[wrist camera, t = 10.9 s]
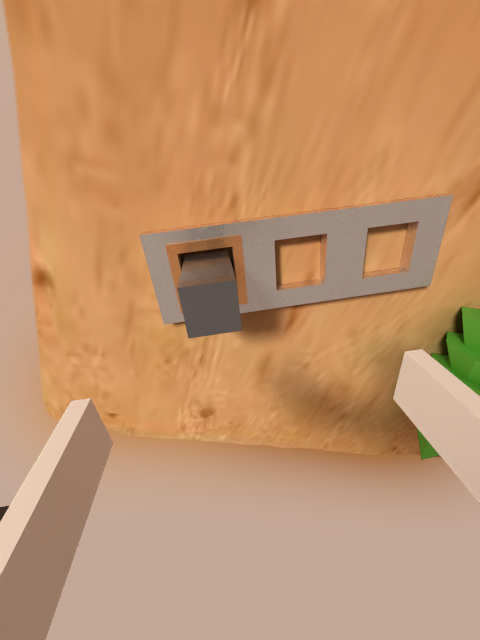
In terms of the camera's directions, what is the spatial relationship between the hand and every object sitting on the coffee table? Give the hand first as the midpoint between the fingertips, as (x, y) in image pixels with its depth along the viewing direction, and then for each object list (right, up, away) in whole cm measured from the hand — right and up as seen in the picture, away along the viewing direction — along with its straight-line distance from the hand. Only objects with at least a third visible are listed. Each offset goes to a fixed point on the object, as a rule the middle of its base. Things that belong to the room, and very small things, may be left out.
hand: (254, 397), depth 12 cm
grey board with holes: (+6, +10, +19) cm, 22 cm away
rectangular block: (-4, +9, +19) cm, 21 cm away
